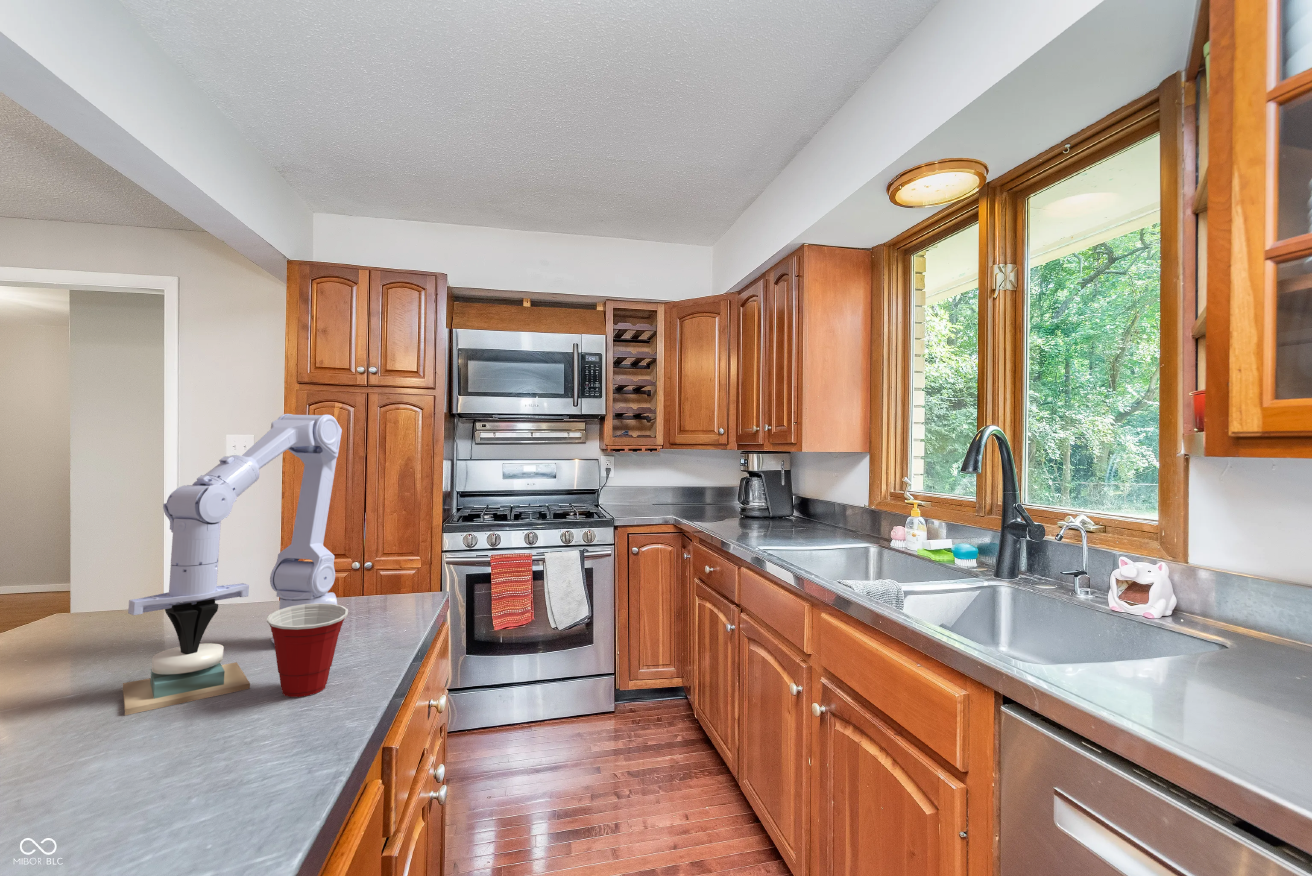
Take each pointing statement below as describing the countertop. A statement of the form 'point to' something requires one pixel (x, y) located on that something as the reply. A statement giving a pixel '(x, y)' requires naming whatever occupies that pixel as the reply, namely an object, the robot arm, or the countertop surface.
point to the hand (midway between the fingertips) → (189, 652)
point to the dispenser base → (147, 703)
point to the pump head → (187, 659)
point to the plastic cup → (305, 645)
